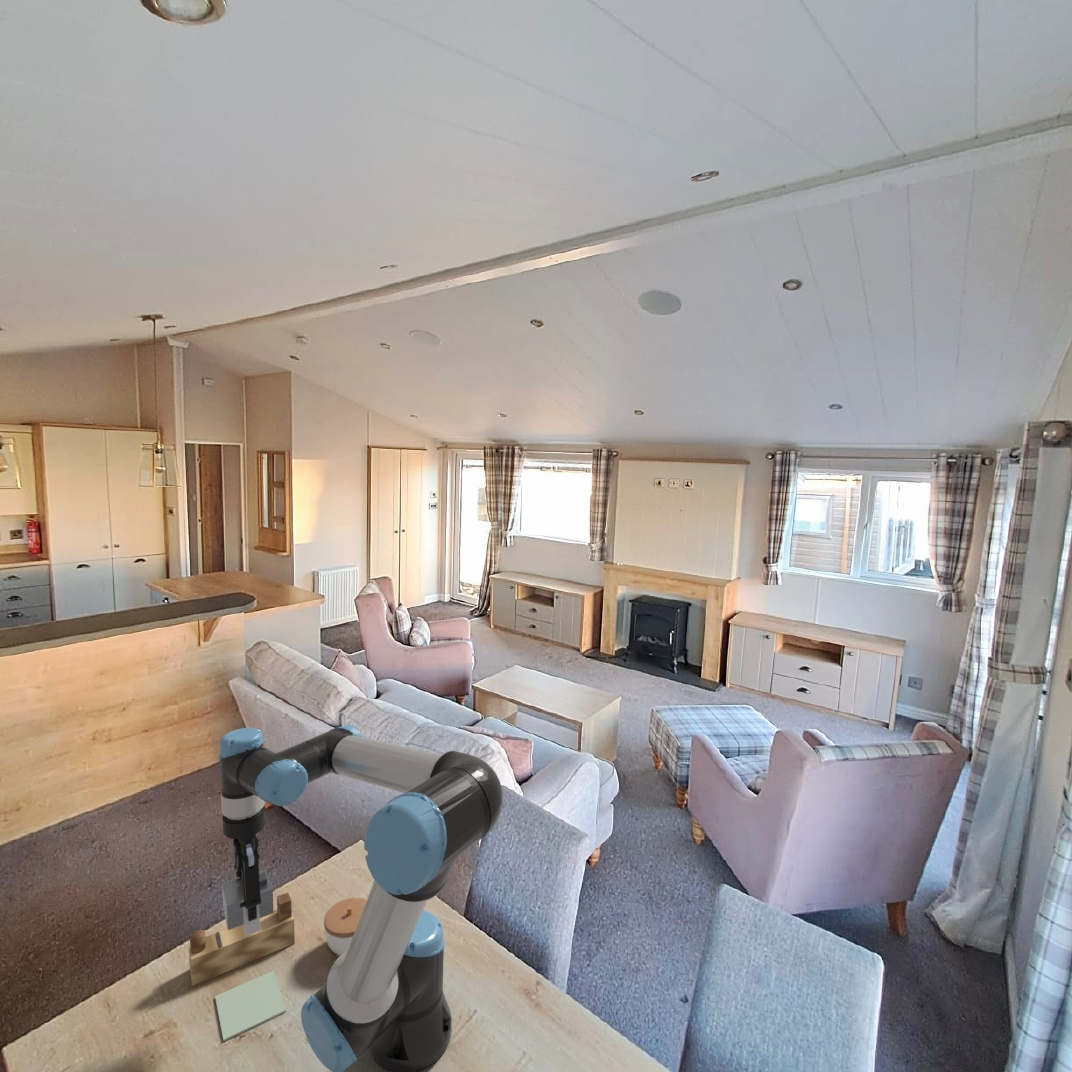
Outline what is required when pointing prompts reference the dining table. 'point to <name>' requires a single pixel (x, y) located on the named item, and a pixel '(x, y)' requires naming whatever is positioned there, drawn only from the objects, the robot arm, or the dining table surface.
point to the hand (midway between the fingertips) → (248, 919)
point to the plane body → (240, 944)
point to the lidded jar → (342, 923)
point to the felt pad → (249, 1005)
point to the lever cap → (235, 896)
